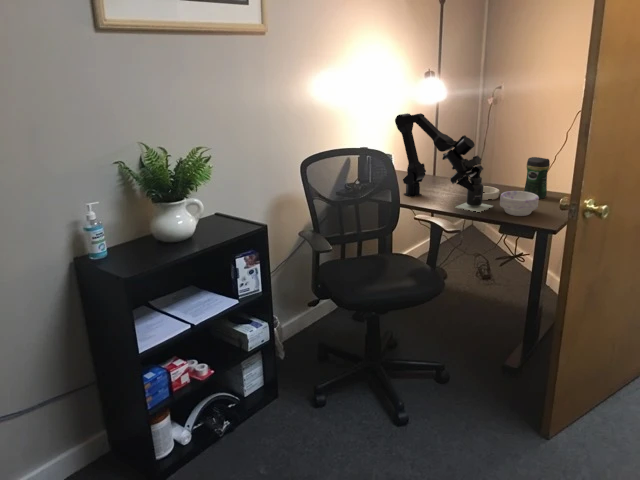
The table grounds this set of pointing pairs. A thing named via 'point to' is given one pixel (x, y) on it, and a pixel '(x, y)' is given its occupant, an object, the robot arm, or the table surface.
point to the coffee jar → (537, 176)
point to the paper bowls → (519, 202)
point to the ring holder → (490, 193)
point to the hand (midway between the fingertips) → (477, 189)
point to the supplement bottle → (475, 192)
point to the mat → (474, 207)
